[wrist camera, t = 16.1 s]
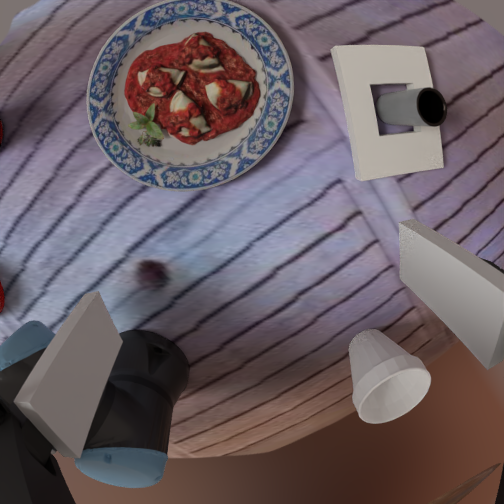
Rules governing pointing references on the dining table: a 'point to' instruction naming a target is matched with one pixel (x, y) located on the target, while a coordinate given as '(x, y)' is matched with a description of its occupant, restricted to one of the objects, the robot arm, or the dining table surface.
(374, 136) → the notched board
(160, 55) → the ceramic plate
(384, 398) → the cup
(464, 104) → the dining table surface
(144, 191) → the dining table surface
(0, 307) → the kitchen timer
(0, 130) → the soda can
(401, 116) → the grey cylinder
